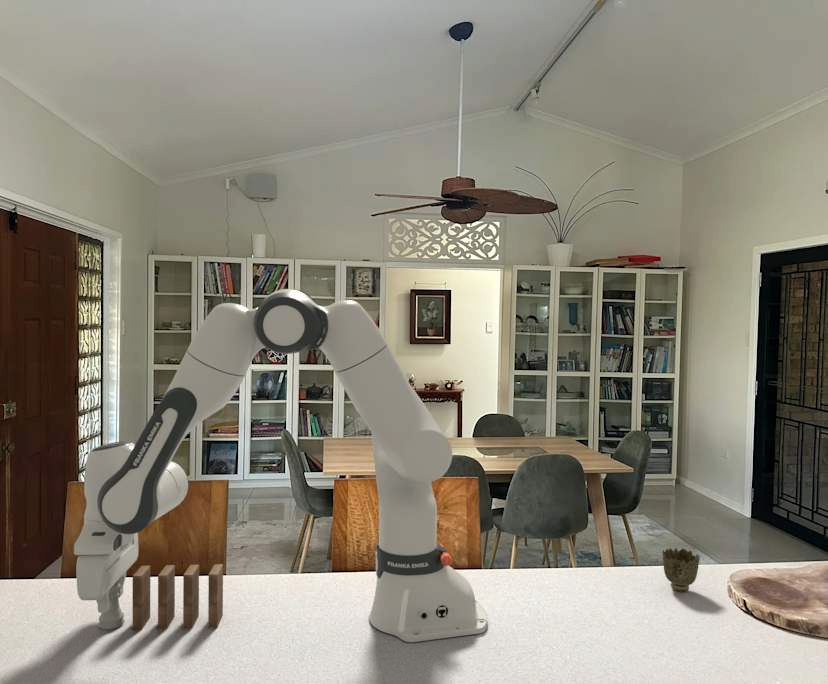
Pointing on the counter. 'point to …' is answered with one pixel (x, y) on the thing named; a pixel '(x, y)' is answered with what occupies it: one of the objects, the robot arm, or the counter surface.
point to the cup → (680, 568)
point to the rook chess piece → (112, 611)
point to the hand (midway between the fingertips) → (110, 603)
